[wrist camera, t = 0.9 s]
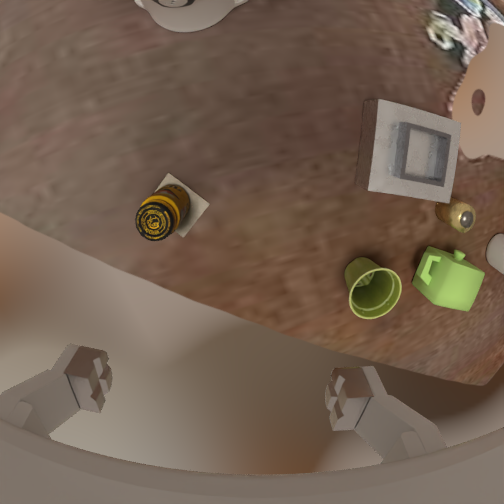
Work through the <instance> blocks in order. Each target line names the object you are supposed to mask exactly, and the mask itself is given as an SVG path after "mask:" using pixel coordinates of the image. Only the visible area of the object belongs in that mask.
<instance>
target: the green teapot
mask: <svg viewBox="0 0 504 504" xmlns="http://www.w3.org/2000/svg"><path fill="white" fill-rule="evenodd" d="M464 257H465V254H464V253H463V252H461V251H459V250H456V249H455V250H454V254H451V253H448V252H445V251H442V250H440V249H437V248H434V247H431V246H428V247H427V249H426V251H425V252H424V254H423V257H422V259H421V262H420V264H419V266H418V269H417V271H416V273H415V276H414V278H413V281H412V284H413V285H414V286H415V287H416V288H417V289H418V290H419V291H420V292H421V293H422V294H423V295H424V296H425V297H427V298H428V299H429V300H430V301H431V302H432V303H433V304H434V305H438V306H443V307H447V308H452V309H457V310H463V311H469V309H470V308H471V306H472V304H473V302H474V300H475V298H476V295H477V293H478V291H479V288H480V286H481V283H482V280H483V278H484V275H485V273H484V272H483V271H481V270H480V269H478V268H477V267H475V266H474V265H472V264H471V263H469V262H468V261H466V260H464V259H463V258H464Z"/></svg>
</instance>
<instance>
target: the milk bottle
mask: <svg viewBox="0 0 504 504" xmlns="http://www.w3.org/2000/svg"><path fill="white" fill-rule="evenodd" d="M486 258H487V261H488V263H489V264H490V265H492V266H493V267H494V268H496V269H497V270H498V271H500V272H501V273H502V274H504V234H497V235H495V236H494V237H493V238H492V239H491V240H490V242H489V244H488V246H487V250H486Z"/></svg>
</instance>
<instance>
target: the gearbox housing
mask: <svg viewBox="0 0 504 504" xmlns="http://www.w3.org/2000/svg"><path fill="white" fill-rule="evenodd" d="M460 128H461V123H459V122H457V121H454V120H451V119H448V118H445V117H442V116H439V115H436V114H433V113H429V112H426V111H423V110H419V109H416V108H412V107H409V106H405V105H401V104H398V103H394V102H390V101H386V100H382V99H374V100H368V101H364V107H363V118H362V128H361V138H360V146H359V155H358V163H357V170H356V178H355V184H357V185H359V186H361V187H362V188H364V189H366V190H368V191H375V192H382V193H389V194H396V195H402V196H409V197H415V198H421V199H427V200H433V201H438V202H444V203H449V202H450V197H451V192H452V186H453V181H454V175H455V168H456V162H457V154H458V147H459V137H460Z"/></svg>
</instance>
